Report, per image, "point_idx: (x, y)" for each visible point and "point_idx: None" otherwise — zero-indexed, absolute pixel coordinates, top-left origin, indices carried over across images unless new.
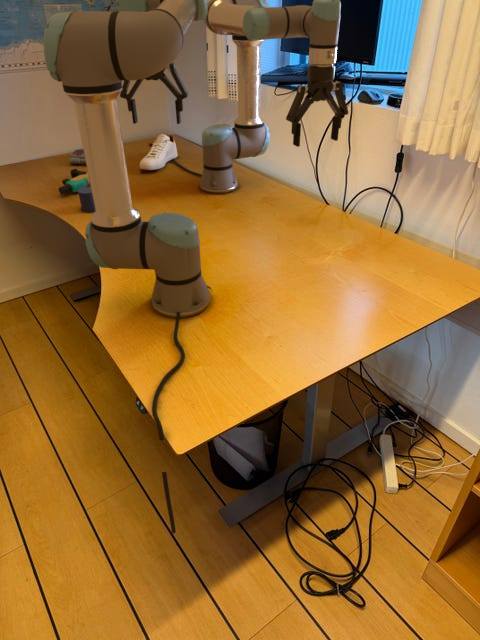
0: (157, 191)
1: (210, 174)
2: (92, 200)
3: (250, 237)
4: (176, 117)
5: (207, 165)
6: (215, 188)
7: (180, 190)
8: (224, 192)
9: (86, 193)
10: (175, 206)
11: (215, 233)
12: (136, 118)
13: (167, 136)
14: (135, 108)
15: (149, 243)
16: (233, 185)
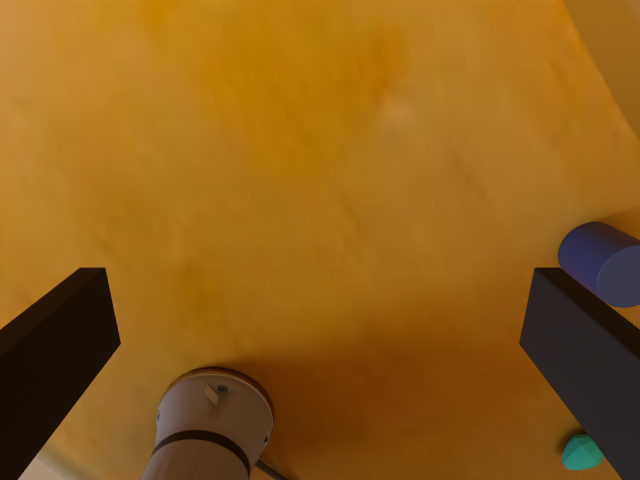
0: (397, 379)
1: (220, 421)
2: (599, 241)
3: (23, 53)
4: (69, 297)
5: (224, 450)
6: (212, 379)
7: (328, 388)
8: (189, 373)
9: (633, 245)
10: (321, 278)
11: (146, 79)
12: (542, 338)
13: None
14: (602, 420)
15: None
16: (161, 401)
